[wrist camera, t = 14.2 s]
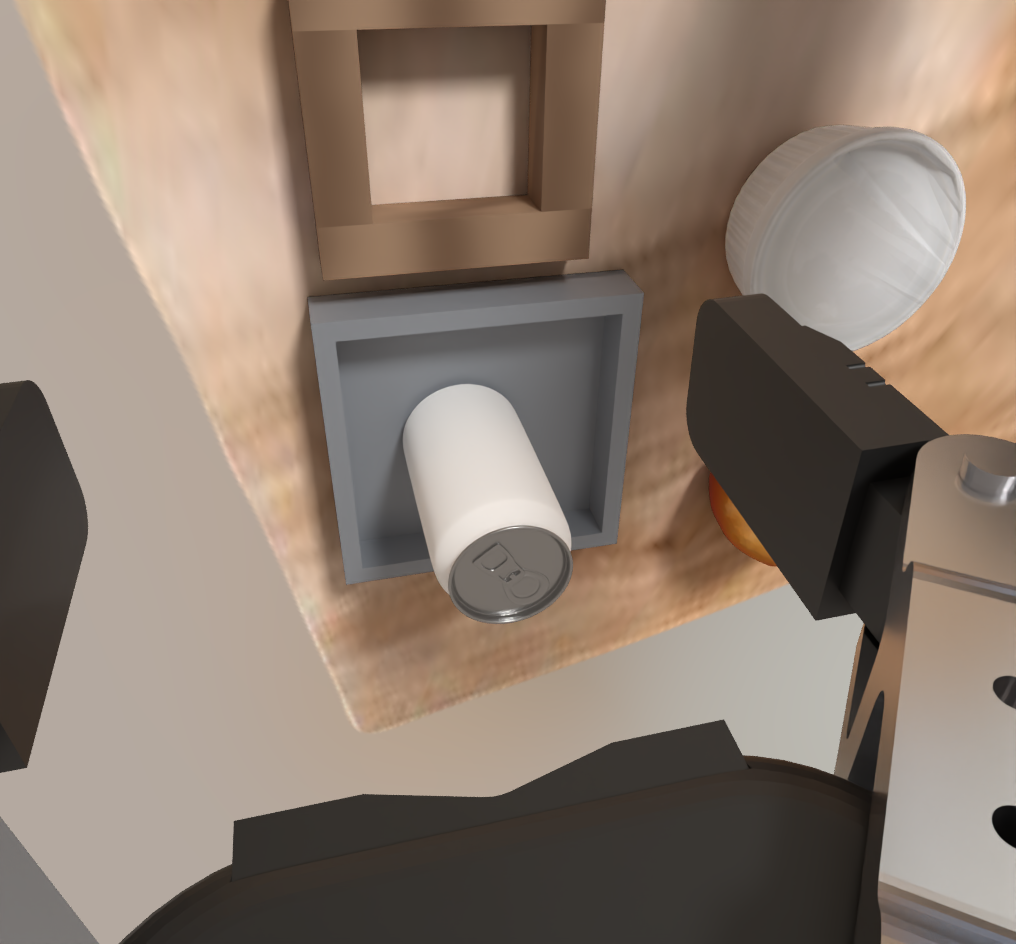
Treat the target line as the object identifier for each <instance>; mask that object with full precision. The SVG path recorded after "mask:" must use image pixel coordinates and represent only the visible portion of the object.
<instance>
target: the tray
mask: <svg viewBox="0 0 1016 944" xmlns="http://www.w3.org/2000/svg"><path fill="white" fill-rule="evenodd" d="M643 298H644V292H643V291H642V290H641V289H640V288H639V287H638V286H637V285H636V283H635V282H634V281H633V280H632V279H631V278H630V277H629V276H628V274H627V273H626V272H625V271H624V270H613V271H601V272H590V273H578V274H567V275H555V276H544V277H532V278H521V279H509V280H498V281H486V282H475V283H463V284H452V285H440V286H429V287H417V288H406V289H394V290H383V291H371V292H360V293H348V294H336V295H325V296H313V297H308V305H309V314H310V322H311V330H312V337H313V344H314V352H315V359H316V366H317V374H318V381H319V388H320V396H321V403H322V410H323V418H324V425H325V432H326V440H327V447H328V454H329V462H330V469H331V476H332V484H333V491H334V498H335V506H336V513H337V520H338V528H339V535H340V542H341V550H342V557H343V564H344V572H345V579H346V585H347V584H354V583H360V582H367V581H373V580H380V579H387V578H393V577H400V576H406V575H413V574H420V573H426V572H433V571H434V569H433V566H432V563H431V559H430V555H429V551H428V547H427V543H426V539H425V536H424V532H423V528H422V524H421V520H420V516H419V512H418V508H417V504H416V500H415V496H414V491H413V487H412V483H411V479H410V475H409V471H408V467H407V463H406V458H405V454H404V449H403V432H404V428H405V424H406V422H407V420H408V418H409V416H410V414H411V413H412V411H413V410H414V409H415V408H416V406H417V405H418V404H419V403H420V402H421V401H423V400H424V399H425V398H426V397H428V396H429V395H431V394H433V393H434V392H436V391H438V390H441V389H443V388H446V387H449V386H454V385H460V384H475V385H481V386H485V387H488V388H491V389H493V390H495V391H497V392H498V393H500V394H501V395H503V396H504V397H505V398H506V399H507V400H508V401H509V402H510V404H511V405H512V407H513V408H514V410H515V412H516V414H517V416H518V418H519V420H520V422H521V424H522V426H523V428H524V430H525V432H526V434H527V436H528V439H529V441H530V443H531V445H532V447H533V449H534V451H535V453H536V455H537V458H538V460H539V462H540V464H541V466H542V468H543V470H544V473H545V475H546V477H547V479H548V481H549V483H550V485H551V488H552V490H553V492H554V494H555V496H556V498H557V501H558V503H559V505H560V507H561V509H562V512H563V514H564V516H565V519H566V521H567V523H568V526H569V530H570V534H571V550H577V549H584V548H590V547H597V546H604V545H610V544H617V537H618V527H619V518H620V509H621V500H622V491H623V482H624V472H625V463H626V454H627V445H628V436H629V426H630V417H631V408H632V399H633V390H634V380H635V371H636V362H637V353H638V344H639V335H640V325H641V316H642V307H643Z"/></svg>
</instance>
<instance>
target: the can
mask: <svg viewBox="0 0 1016 944" xmlns="http://www.w3.org/2000/svg"><path fill="white" fill-rule="evenodd" d="M403 449H404V454H405V458H406V463H407V467H408V471H409V475H410V479H411V483H412V487H413V491H414V496H415V500H416V504H417V508H418V512H419V516H420V520H421V524H422V528H423V532H424V536H425V539H426V543H427V547H428V551H429V555H430V559H431V563H432V566H433V569H434V573H435V575H436V577H437V580H438V582H439V583H440V585H441V586H442V588H443V589H444V590H445V591H446V592H447V593H448V594H449V595H450V597H451V600H452V602H453V603H454V605H455V606H456V607H457V609H458V610H459V611H460V612H462V613H463V614H464V615H466V616H468V617H469V618H471V619H474V620H477V621H480V622H484V623H491V624H504V623H512V622H517V621H521V620H524V619H527V618H529V617H532V616H534V615H536V614H538V613H540V612H541V611H543V610H545V609H546V608H548V607H549V606H550V605H551V604H553V603H554V602H555V601H556V600H557V599H558V598H559V597H560V596H561V594H562V593H563V592H564V590H565V589H566V587H567V585H568V583H569V581H570V579H571V575H572V571H573V559H572V555H571V534H570V530H569V526H568V523H567V521H566V519H565V516H564V514H563V512H562V509H561V507H560V505H559V503H558V501H557V498H556V496H555V494H554V492H553V490H552V488H551V485H550V483H549V481H548V479H547V477H546V475H545V473H544V470H543V468H542V466H541V464H540V462H539V460H538V458H537V455H536V453H535V451H534V449H533V447H532V445H531V443H530V441H529V439H528V436H527V434H526V432H525V430H524V428H523V426H522V424H521V422H520V420H519V418H518V416H517V414H516V412H515V410H514V408H513V407H512V405H511V404H510V402H509V401H508V400H507V399H506V398H505V397H504V396H503V395H501V394H500V393H498V392H497V391H495V390H493V389H491V388H488V387H485V386H481V385H475V384H460V385H454V386H449V387H446V388H443V389H441V390H438V391H436V392H434V393H433V394H431V395H429V396H428V397H426V398H425V399H424V400H423V401H421V402H420V403H419V404H418V405H417V406H416V408H415V409H414V410H413V411H412V413H411V414H410V416H409V418H408V420H407V422H406V424H405V428H404V432H403Z"/></svg>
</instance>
